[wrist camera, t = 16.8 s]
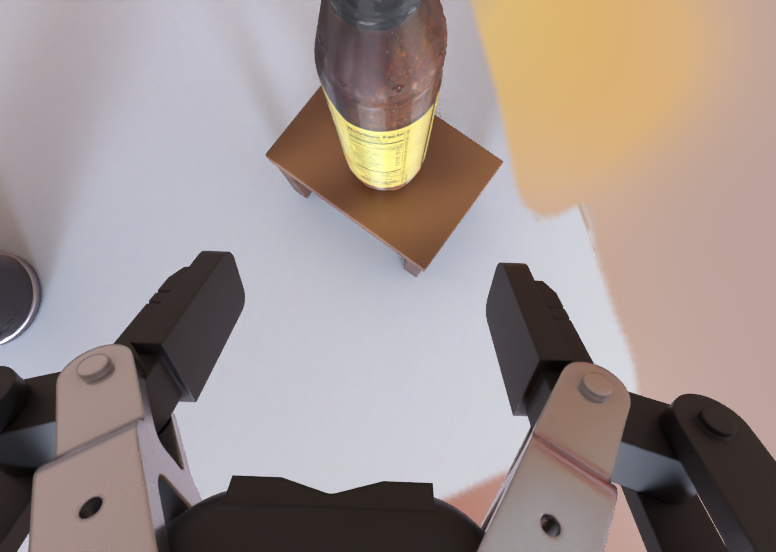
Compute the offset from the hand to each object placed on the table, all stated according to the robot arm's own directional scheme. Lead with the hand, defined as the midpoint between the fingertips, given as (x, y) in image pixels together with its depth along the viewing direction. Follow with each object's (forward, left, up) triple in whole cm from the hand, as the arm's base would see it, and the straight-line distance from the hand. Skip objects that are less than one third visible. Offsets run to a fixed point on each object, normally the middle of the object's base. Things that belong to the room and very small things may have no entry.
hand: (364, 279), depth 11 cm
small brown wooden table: (-6, +10, -24) cm, 27 cm away
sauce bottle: (-6, +9, -16) cm, 20 cm away
